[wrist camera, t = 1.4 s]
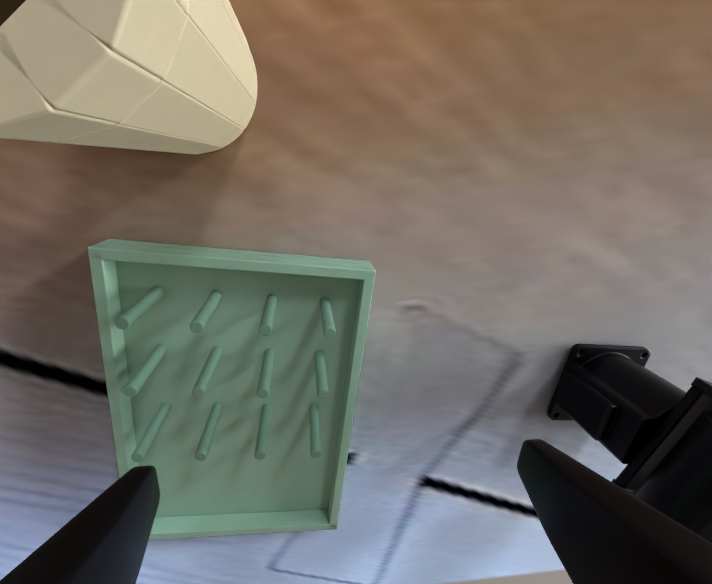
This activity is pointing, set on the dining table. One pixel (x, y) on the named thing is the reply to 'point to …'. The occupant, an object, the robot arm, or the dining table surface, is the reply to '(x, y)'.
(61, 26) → the beige cylindrical vase
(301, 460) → the dish rack
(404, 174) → the dining table surface
